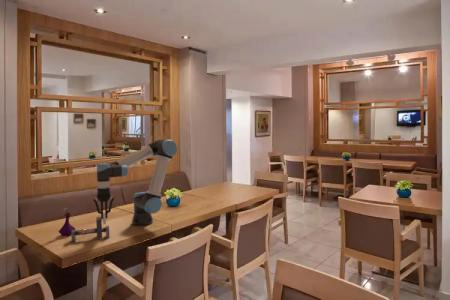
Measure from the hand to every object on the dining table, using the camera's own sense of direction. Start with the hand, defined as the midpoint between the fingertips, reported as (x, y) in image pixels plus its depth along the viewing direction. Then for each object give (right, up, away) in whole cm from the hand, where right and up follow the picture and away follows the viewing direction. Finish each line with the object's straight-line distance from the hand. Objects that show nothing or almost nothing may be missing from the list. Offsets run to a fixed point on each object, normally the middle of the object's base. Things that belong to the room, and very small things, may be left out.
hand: (104, 223), depth 202 cm
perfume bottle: (-27, -9, +6) cm, 29 cm away
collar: (-3, -9, -1) cm, 10 cm away
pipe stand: (-8, -9, -2) cm, 12 cm away
